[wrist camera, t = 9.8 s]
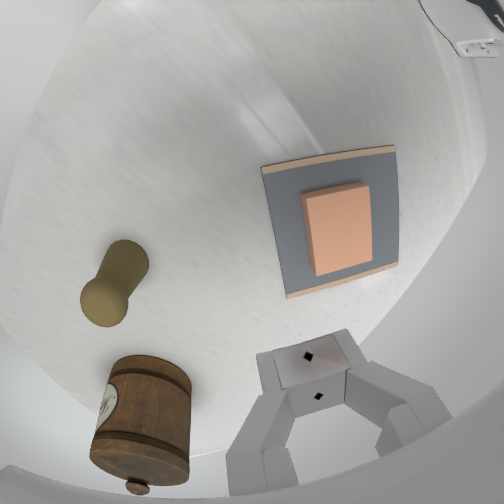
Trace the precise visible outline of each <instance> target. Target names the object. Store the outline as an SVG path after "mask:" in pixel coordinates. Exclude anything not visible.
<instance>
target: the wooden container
mask: <svg viewBox="0 0 504 504" xmlns="http://www.w3.org/2000/svg"><path fill="white" fill-rule="evenodd" d="M190 426H191V382H190V380H189V378H188V377H187V376H186V374H185V373H184V372H183V371H182V370H180V369H179V368H178V367H176V366H175V365H173V364H171V363H169V362H167V361H164V360H162V359H158V358H154V357H149V356H129V357H125V358H123V359H120V360H119V361H117V362H116V363H115V364H114V366H113V368H112V371H111V374H110V377H109V380H108V383H107V386H106V389H105V392H104V396H103V400H102V404H101V408H100V412H99V417H98V421H97V425H96V430H95V434H94V438H93V441H92V444H91V449H90V459H91V461H92V462H93V463H94V464H95V465H96V466H98V467H99V468H100V469H102V470H104V471H106V472H107V473H109V474H112V475H114V476H116V477H119V478H121V479H124V480H128V481H127V482H126V488H127V490H128V491H130V492H131V493H132V494H135V495H144V494H148V493H149V491H150V489H149V487H148V486H147V485H154V486H172V485H180V484H182V483H185V482H186V481H188V479H189V471H190V469H189V447H190Z"/></svg>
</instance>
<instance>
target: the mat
mask: <svg viewBox="0 0 504 504" xmlns="http://www.w3.org/2000/svg"><path fill="white" fill-rule="evenodd" d="M261 171H262V176H263V180H264V185H265V190H266V195H267V199H268V204H269V209H270V214H271V219H272V224H273V229H274V234H275V239H276V244H277V249H278V255H279V260H280V265H281V270H282V276H283V281H284V286H285V292H286V297H287V299H290V298H294V297H297V296H301V295H305V294H308V293H312V292H315V291H319V290H322V289H326V288H329V287H332V286H336V285H339V284H342V283H346V282H349V281H352V280H356V279H359V278H362V277H365V276H368V275H371V274H374V273H378V272H381V271H384V270H387V269H390V268H393V267H396V266H398V252H399V196H398V176H397V163H396V148H395V146H394V145H391V146H383V147H374V148H366V149H359V150H352V151H345V152H339V153H332V154H326V155H320V156H315V157H309V158H304V159H298V160H293V161H288V162H283V163H278V164H273V165H269V166H264V167H261ZM355 182H361V183H363V184H366V185H368V186H369V192H370V206H371V226H372V260H371V261H368V262H364V263H361V264H358V265H354V266H351V267H347V268H344V269H341V270H337V271H334V272H330V273H327V274H323V275H320V276H316V275H315V273H314V272H313V270H312V269H311V267H310V260H309V252H308V245H307V238H306V231H305V224H304V217H303V211H302V205H301V199H300V194H301V193H306V192H311V191H315V190H320V189H325V188H330V187H335V186H340V185H345V184H350V183H355Z"/></svg>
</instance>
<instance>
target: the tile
mask: <svg viewBox="0 0 504 504" xmlns="http://www.w3.org/2000/svg"><path fill="white" fill-rule="evenodd" d="M300 199H301V205H302V211H303V217H304V224H305V231H306V238H307V245H308V252H309V260H310V267H311V269H312V270H313V272H314V273H315V275H316V276H320V275H323V274H327V273H330V272H334V271H337V270H341V269H344V268H347V267H351V266H354V265H358V264H361V263H364V262H368V261H371V260H372V226H371V206H370V192H369V186H368V185H366V184H363V183H361V182H355V183H350V184H345V185H340V186H335V187H330V188H325V189H320V190H315V191H311V192H306V193H301V194H300Z"/></svg>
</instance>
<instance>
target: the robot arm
mask: <svg viewBox="0 0 504 504" xmlns="http://www.w3.org/2000/svg"><path fill="white" fill-rule="evenodd" d="M419 1H420V3H421V5H422V7H423V9H424V10H425V12H426V14H427V15H428V17H429V18H430V20H431V21H432V22H433V24H434V25H435V26H436V27H437V28H438V30H439V31H440V32H441V33H442V34H443V35H444V36H445V37H446V38H447V39H448V40H449V41H450V42H451V43H452V45H453V46H454V48H455V50H456V51H457V53H458V54H459V55H460V56H461V57H463V58H468V57H492V58H495V57H498V56H499V46H504V0H419ZM256 360H257V365H258V370H259V375H260V380H261V385H262V390H263V395H259V396H258V398H257V400H256V402H255V404H254V405H253V407H252V409H251V411H250V413H249V415H248V417H247V418H246V420H245V422H244V424H243V426H242V427H241V429H240V431H239V433H238V435H237V436H236V438H235V440H234V442H233V443H232V445H231V447H230V449H229V450H228V452H227V454H226V464H227V476H228V486H229V495H230V496H229V497H218V498H198V499H167V498H149V497H148V498H147V497H137V496H128V495H120V494H114V493H107V492H102V491H96V490H91V489H86V488H82V487H78V486H74V485H69V484H66V483H62V482H59V481H55V480H52V479H49V478H46V477H43V476H40V475H37V474H34V473H31V472H28V471H26V470H24V469H21V468H19V467H16V466H12V465H8V466H6V467H4V468H3V469H2V470H0V504H504V379H503V380H502V381H501V382H500V383H499V384H497V385H496V386H495V387H494V388H493V389H491V390H490V391H489V392H488V393H487V394H485V395H484V396H483V397H482V398H480V399H479V400H477V401H476V402H475V403H474V404H472V405H471V406H469V407H468V408H467V409H465V410H464V411H463V412H461V413H459V414H458V415H457V416H455V417H454V418H453V417H452V415H451V414H450V412H449V411H448V410H447V408H446V406H445V405H444V403H443V402H442V400H441V399H440V397H439V396H438V394H437V393H436V391H435V390H434V388H433V387H431V386H429V385H426V384H424V383H421V382H419V381H417V380H414V379H412V378H410V377H407V376H405V375H403V374H400V373H398V372H396V371H393V370H391V369H389V368H387V367H385V366H382V365H380V364H378V363H376V362H373V361H370V362H367V360H366V359H365V357H364V355H363V354H362V352H361V350H360V349H359V347H358V345H357V344H356V342H355V340H354V339H353V337H352V336H351V334H350V332H349V331H348V330H347V329H343V330H340V331H337V332H334V333H331V334H328V335H325V336H321V337H318V338H315V339H312V340H309V341H305V342H302V343H299V344H295V345H291V346H287V347H283V348H279V349H275V350H272V351H267V352H263V353H258V354H256ZM342 403H345V405H347V406H348V407H350V408H351V409H353V410H354V411H356V412H357V413H359V414H360V415H362V416H364V417H365V418H367V419H368V420H369V421H371V422H372V423H374V424H375V425H377V426H378V427H380V428H382V431H381V434H380V436H379V439H378V441H377V443H376V446H375V448H376V450H377V452H378V454H379V457H380V458H378V459H375V460H373V461H370V462H368V463H365V464H363V465H361V466H358V467H355V468H352V469H350V470H347V471H344V472H341V473H338V474H335V475H332V476H329V477H326V478H322V479H319V480H316V481H311V482H308V483H304V484H300V485H299V482H298V479H297V475H296V472H295V469H294V466H293V463H292V460H291V457H290V454H289V451H288V449H287V448H284V447H285V445H286V442H287V439H288V437H289V434H290V431H291V429H292V426H293V423H294V420H295V419H294V418H297V417H301V416H304V415H307V414H310V413H313V412H316V411H319V410H323V409H326V408H330V407H333V406H336V405H339V404H342Z"/></svg>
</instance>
